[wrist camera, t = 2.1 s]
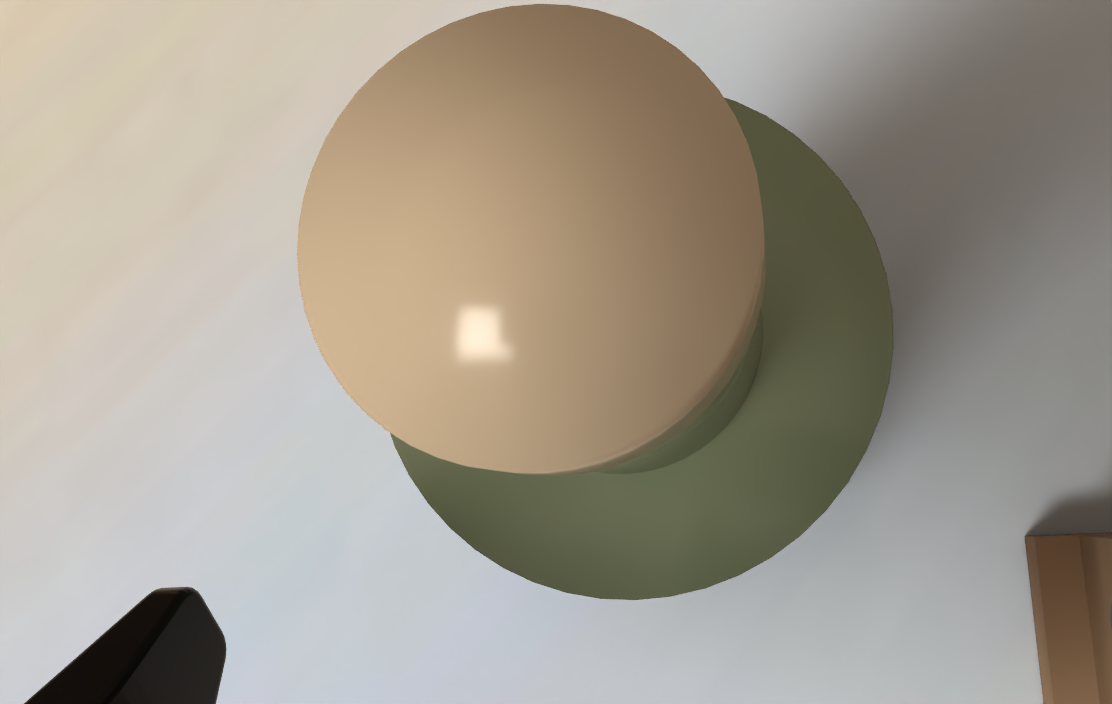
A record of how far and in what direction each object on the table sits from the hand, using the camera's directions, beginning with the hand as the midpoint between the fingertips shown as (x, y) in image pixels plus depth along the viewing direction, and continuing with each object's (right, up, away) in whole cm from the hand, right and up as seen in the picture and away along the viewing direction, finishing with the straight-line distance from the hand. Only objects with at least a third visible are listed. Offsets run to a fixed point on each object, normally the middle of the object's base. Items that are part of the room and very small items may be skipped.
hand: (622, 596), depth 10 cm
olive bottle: (+2, +1, +10) cm, 10 cm away
